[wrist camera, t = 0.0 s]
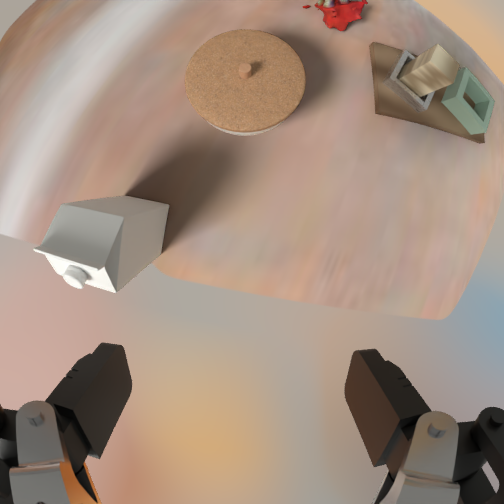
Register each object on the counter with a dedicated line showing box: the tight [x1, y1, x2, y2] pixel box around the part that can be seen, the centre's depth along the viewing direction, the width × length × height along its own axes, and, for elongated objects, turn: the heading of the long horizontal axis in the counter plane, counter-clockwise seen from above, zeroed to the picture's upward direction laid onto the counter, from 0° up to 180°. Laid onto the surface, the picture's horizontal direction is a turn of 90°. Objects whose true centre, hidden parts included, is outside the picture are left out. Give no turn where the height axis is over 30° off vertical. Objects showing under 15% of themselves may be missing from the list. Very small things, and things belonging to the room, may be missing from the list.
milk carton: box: [34, 196, 169, 293], centre depth 28 cm, size 7×7×19 cm
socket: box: [441, 67, 495, 135], centre depth 29 cm, size 8×8×4 cm
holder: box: [382, 50, 435, 113], centre depth 30 cm, size 7×7×2 cm
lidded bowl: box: [185, 30, 306, 136], centre depth 28 cm, size 13×13×11 cm
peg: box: [397, 44, 460, 97], centre depth 26 cm, size 4×4×10 cm
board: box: [369, 42, 485, 143], centre depth 32 cm, size 12×23×2 cm, turn 89°
